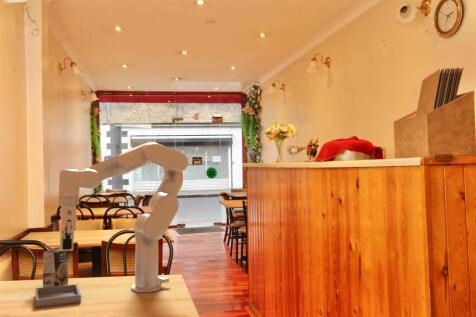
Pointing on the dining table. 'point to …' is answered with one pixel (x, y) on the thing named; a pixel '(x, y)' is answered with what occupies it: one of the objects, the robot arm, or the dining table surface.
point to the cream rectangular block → (62, 241)
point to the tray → (57, 295)
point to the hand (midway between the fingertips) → (66, 247)
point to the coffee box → (55, 268)
